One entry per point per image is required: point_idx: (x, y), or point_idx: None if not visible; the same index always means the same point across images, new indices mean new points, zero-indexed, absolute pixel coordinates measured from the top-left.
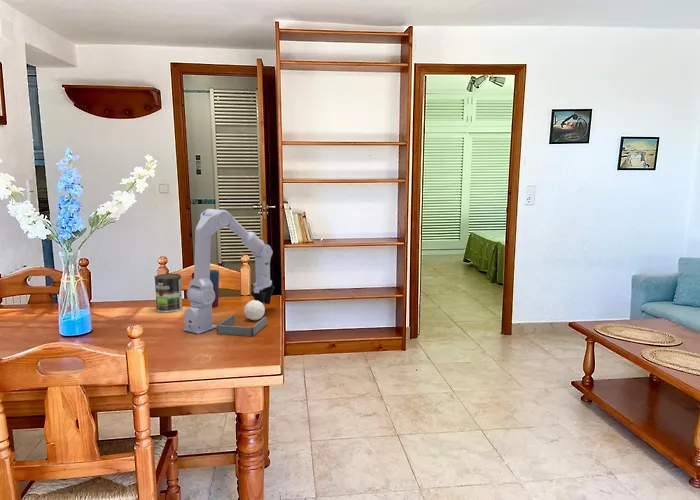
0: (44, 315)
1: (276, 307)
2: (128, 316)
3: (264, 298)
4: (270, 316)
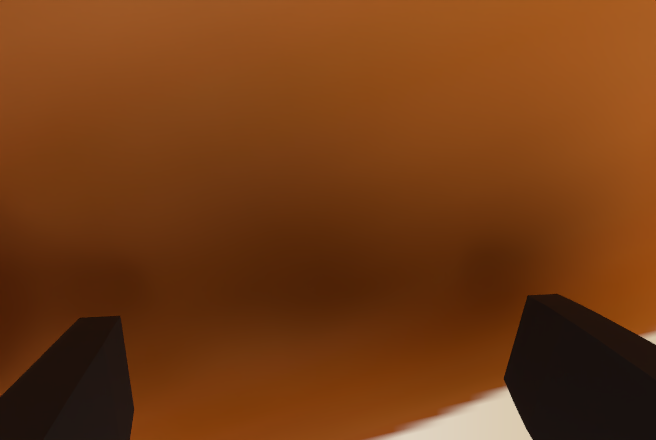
0: None
1: None
2: None
3: (617, 383)
4: None
